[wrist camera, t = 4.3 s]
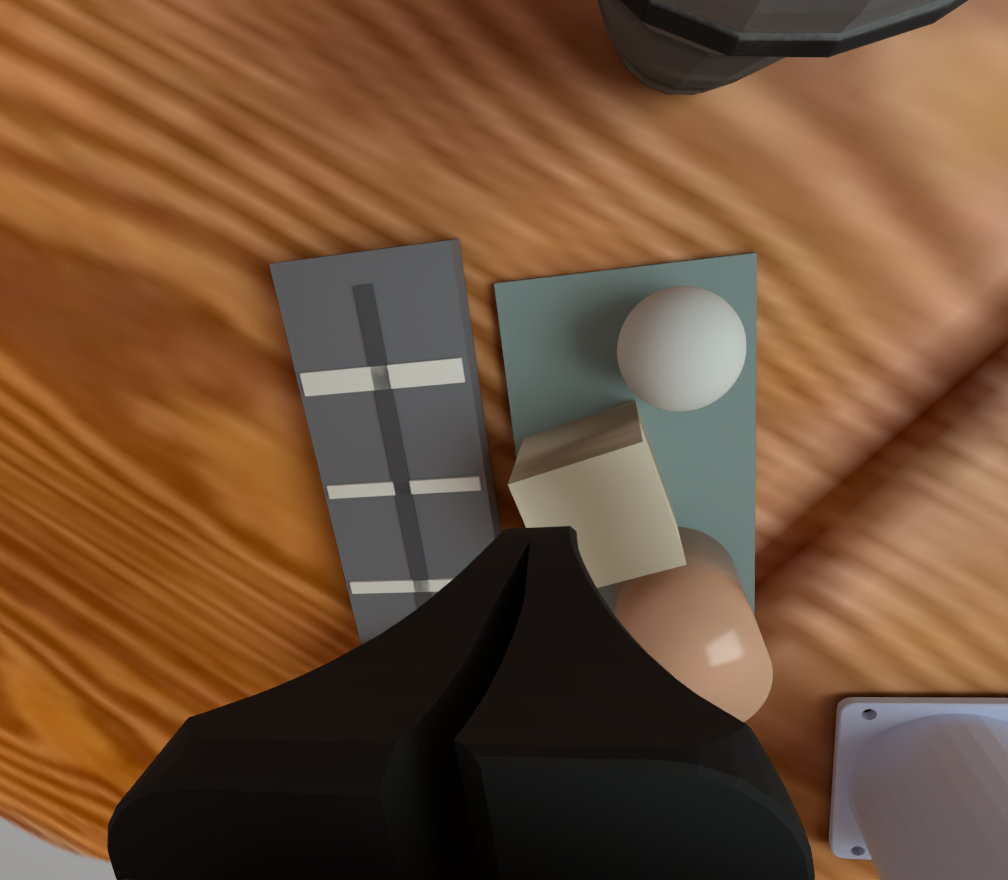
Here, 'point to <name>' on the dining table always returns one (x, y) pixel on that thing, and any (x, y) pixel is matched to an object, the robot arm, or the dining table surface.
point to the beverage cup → (748, 34)
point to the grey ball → (681, 348)
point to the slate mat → (600, 386)
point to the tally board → (392, 418)
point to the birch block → (601, 493)
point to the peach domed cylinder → (700, 626)
